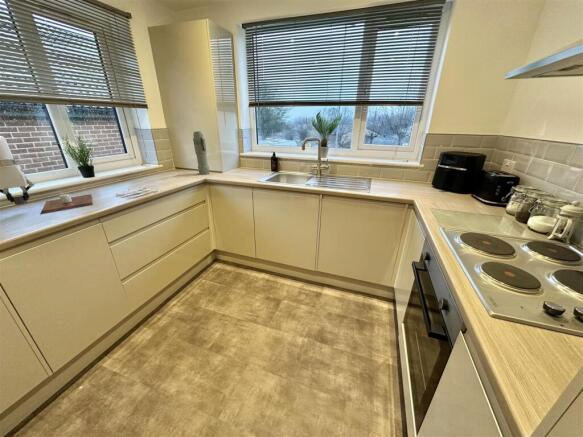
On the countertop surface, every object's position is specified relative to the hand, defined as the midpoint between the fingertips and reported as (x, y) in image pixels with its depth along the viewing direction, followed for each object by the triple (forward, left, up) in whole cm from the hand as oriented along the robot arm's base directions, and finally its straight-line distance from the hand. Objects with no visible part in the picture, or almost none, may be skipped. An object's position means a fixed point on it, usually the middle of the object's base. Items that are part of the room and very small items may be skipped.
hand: (19, 200), depth 118 cm
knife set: (+56, +11, -8) cm, 57 cm away
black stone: (0, 0, -2) cm, 2 cm away
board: (+16, +9, -8) cm, 20 cm away
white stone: (+16, +9, -6) cm, 19 cm away
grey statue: (+106, +38, -8) cm, 112 cm away
